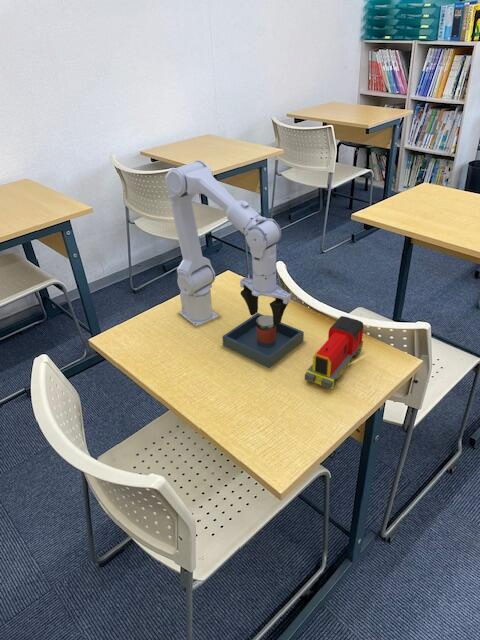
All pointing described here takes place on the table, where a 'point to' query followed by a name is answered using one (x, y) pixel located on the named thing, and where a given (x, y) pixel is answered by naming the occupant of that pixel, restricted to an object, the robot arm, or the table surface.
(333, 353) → the toy train
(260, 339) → the tin can
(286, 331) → the tub
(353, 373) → the table surface
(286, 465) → the table surface
